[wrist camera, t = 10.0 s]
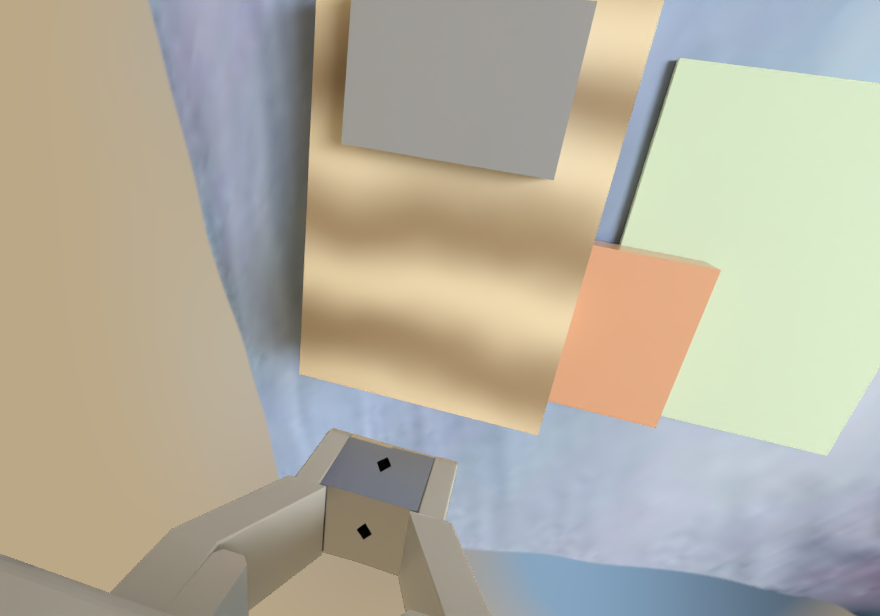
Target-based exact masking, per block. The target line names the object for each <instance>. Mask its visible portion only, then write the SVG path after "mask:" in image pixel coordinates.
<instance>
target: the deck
mask: <svg viewBox="0 0 880 616" xmlns="http://www.w3.org/2000/svg"><path fill="white" fill-rule="evenodd" d="M590 1H597V5H596V9H595V13H594V17H593V21H592V25H591V30H590V34H589V38H588V42H587V46H586V50H585V54H584V58H583V62H582V66H581V71H580V75H579V79H578V83H577V87H576V91H575V95H574V99H573V103H572V107H571V112H570V116H569V120H568V124H567V128H566V132H565V136H564V140H563V144H562V149H561V153H560V157H559V161H558V165H557V169H556V173H555V177H554V180H549V179H544V178H538V177H532V176H526V175H520V174H515V173H509V172H503V171H497V170H491V169H486V168H480V167H474V166H468V165H462V164H457V163H451V162H445V161H439V160H433V159H428V158H422V157H416V156H410V155H404V154H398V153H393V152H387V151H381V150H375V149H369V148H364V147H358V146H352V145H346V144H341V139H342V125H343V111H344V96H345V82H346V68H347V53H348V39H349V25H350V11H351V0H316V15H315V37H314V59H313V81H312V103H311V125H310V147H309V169H308V191H307V213H306V235H305V258H304V280H303V302H302V324H301V346H300V368H299V374H301V375H305V376H309V377H313V378H317V379H321V380H325V381H329V382H332V383H336V384H340V385H344V386H348V387H352V388H356V389H360V390H363V391H367V392H371V393H375V394H379V395H383V396H387V397H391V398H395V399H398V400H402V401H406V402H410V403H414V404H418V405H422V406H426V407H430V408H433V409H437V410H441V411H445V412H449V413H453V414H457V415H461V416H465V417H468V418H472V419H476V420H480V421H484V422H488V423H492V424H496V425H500V426H503V427H507V428H511V429H515V430H519V431H523V432H527V433H531V434H534V435H538V433H539V430H540V426H541V423H542V419H543V416H544V412H545V409H546V406H547V402H548V399H549V395H550V392H551V388H552V385H553V382H554V378H555V375H556V371H557V368H558V364H559V361H560V357H561V354H562V351H563V347H564V344H565V340H566V337H567V333H568V330H569V326H570V323H571V320H572V316H573V313H574V309H575V306H576V302H577V299H578V296H579V292H580V289H581V285H582V282H583V278H584V275H585V271H586V268H587V265H588V261H589V258H590V254H591V251H592V247H593V244H594V241H595V237H596V234H597V230H598V227H599V223H600V220H601V216H602V213H603V210H604V206H605V203H606V199H607V196H608V192H609V189H610V185H611V182H612V179H613V175H614V172H615V168H616V165H617V161H618V158H619V155H620V151H621V148H622V144H623V141H624V137H625V134H626V130H627V127H628V124H629V120H630V117H631V113H632V110H633V106H634V103H635V99H636V96H637V93H638V89H639V86H640V82H641V79H642V75H643V72H644V69H645V65H646V62H647V58H648V55H649V51H650V48H651V44H652V41H653V38H654V34H655V31H656V27H657V24H658V20H659V17H660V14H661V10H662V7H663V3H664V0H590Z"/></svg>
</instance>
